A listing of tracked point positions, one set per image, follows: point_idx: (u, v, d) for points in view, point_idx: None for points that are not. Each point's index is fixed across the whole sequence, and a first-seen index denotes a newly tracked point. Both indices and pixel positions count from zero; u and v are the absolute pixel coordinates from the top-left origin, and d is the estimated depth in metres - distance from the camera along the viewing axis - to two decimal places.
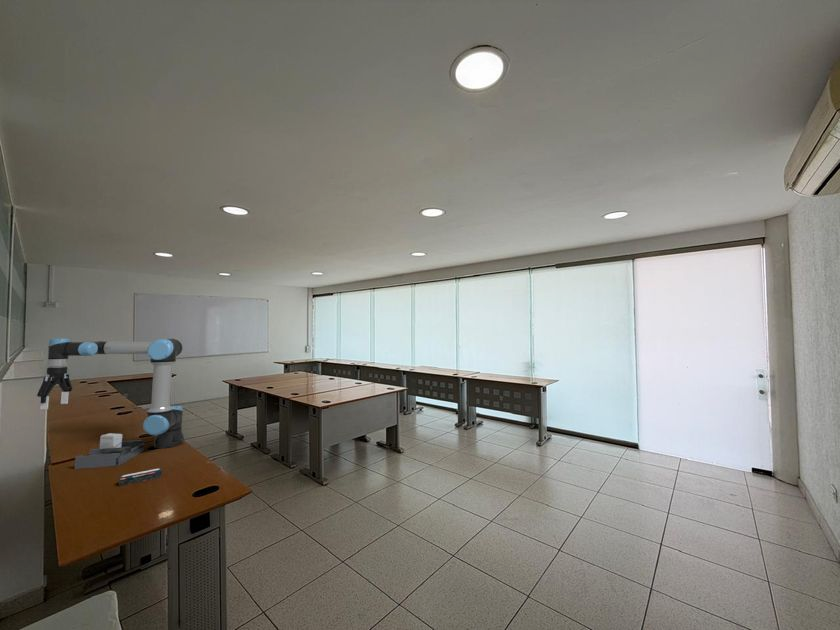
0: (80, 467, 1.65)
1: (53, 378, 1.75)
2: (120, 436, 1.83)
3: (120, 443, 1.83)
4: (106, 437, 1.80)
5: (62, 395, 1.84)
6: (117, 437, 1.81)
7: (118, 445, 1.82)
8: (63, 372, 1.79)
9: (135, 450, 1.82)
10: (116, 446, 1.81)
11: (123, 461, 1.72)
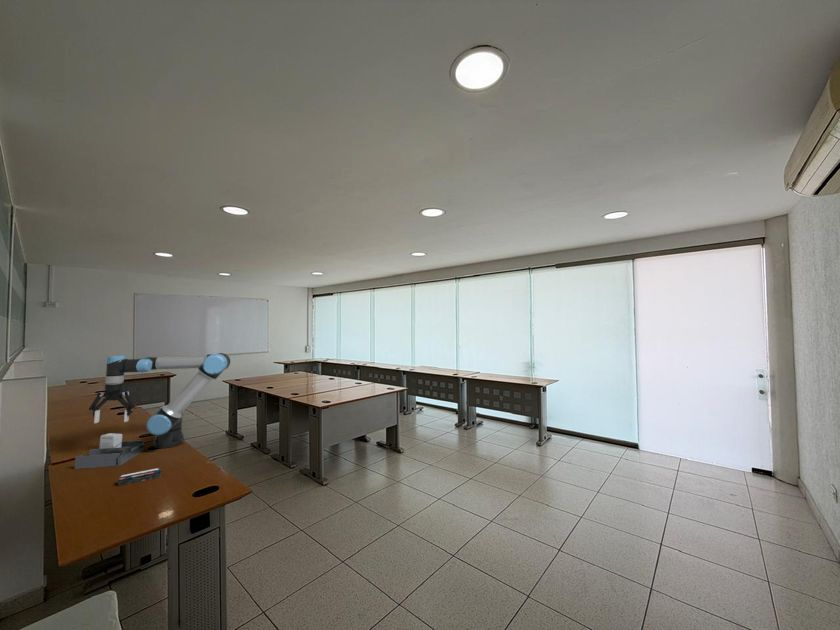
0: (80, 467, 1.65)
1: (104, 394, 1.82)
2: (120, 436, 1.83)
3: (120, 443, 1.83)
4: (106, 437, 1.80)
5: None
6: (117, 437, 1.81)
7: (118, 445, 1.82)
8: (107, 389, 1.80)
9: (135, 450, 1.82)
10: (116, 446, 1.81)
11: (123, 461, 1.72)
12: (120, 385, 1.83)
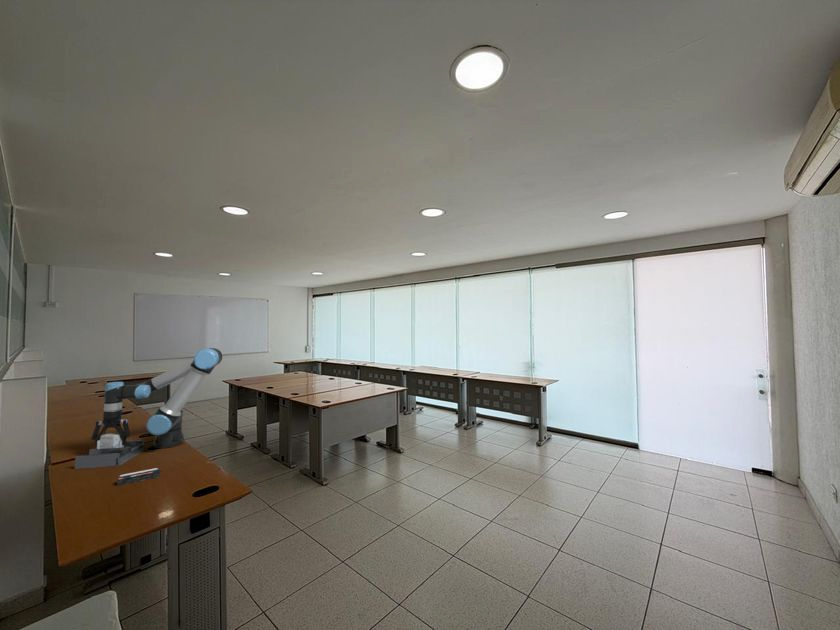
0: (80, 467, 1.65)
1: (103, 421, 1.81)
2: None
3: None
4: (106, 437, 1.80)
5: None
6: (117, 437, 1.81)
7: (118, 445, 1.82)
8: (105, 417, 1.79)
9: (135, 450, 1.82)
10: (116, 446, 1.81)
11: (123, 461, 1.72)
12: (119, 412, 1.83)
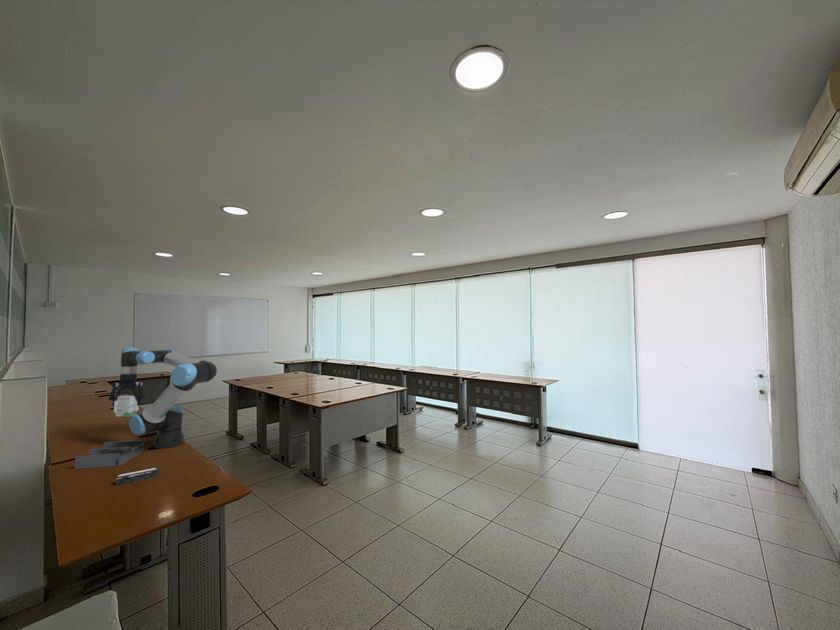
0: (80, 467, 1.65)
1: (119, 383, 1.94)
2: (135, 397, 1.97)
3: None
4: (123, 397, 1.94)
5: None
6: (132, 398, 1.95)
7: (134, 405, 1.96)
8: (122, 379, 1.93)
9: (135, 450, 1.82)
10: (132, 406, 1.94)
11: (123, 461, 1.72)
12: (134, 375, 1.96)
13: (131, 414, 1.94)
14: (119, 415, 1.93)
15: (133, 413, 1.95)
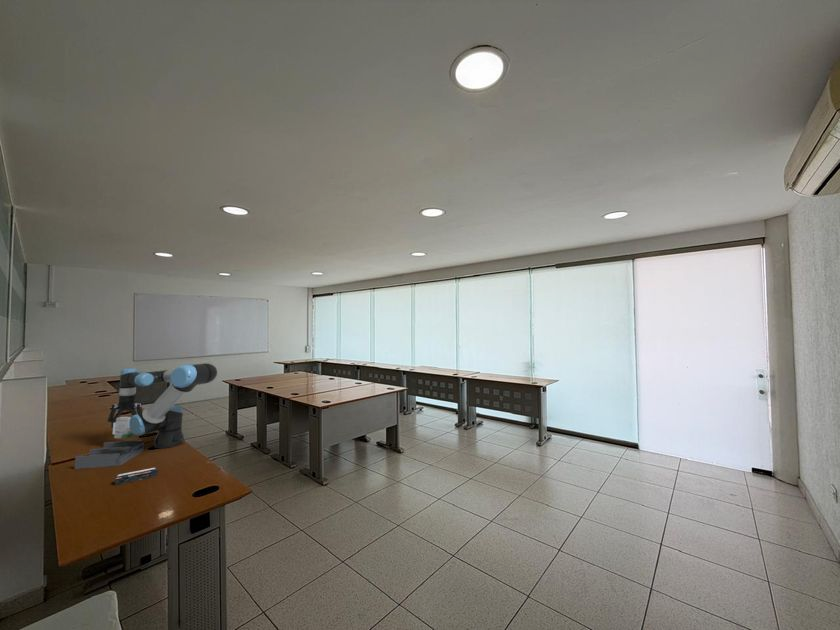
0: (80, 467, 1.65)
1: (118, 405, 1.94)
2: None
3: None
4: (122, 419, 1.93)
5: None
6: None
7: None
8: (121, 401, 1.92)
9: (135, 450, 1.82)
10: None
11: (123, 461, 1.72)
12: (133, 396, 1.96)
13: (130, 436, 1.94)
14: (118, 437, 1.92)
15: (132, 435, 1.95)
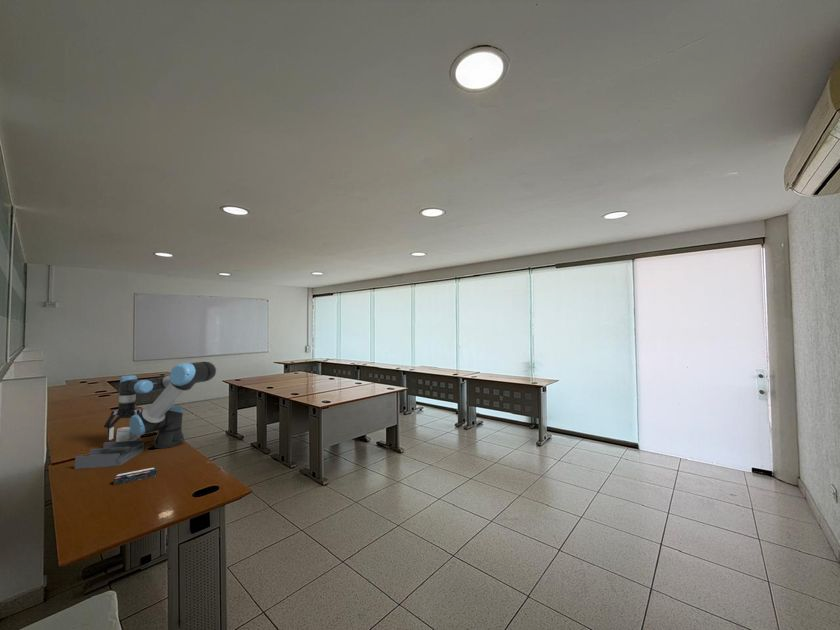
0: (80, 467, 1.65)
1: (118, 412, 1.94)
2: None
3: (135, 436, 1.96)
4: (122, 430, 1.93)
5: None
6: None
7: (133, 437, 1.95)
8: (120, 408, 1.92)
9: (135, 450, 1.82)
10: (131, 438, 1.94)
11: (123, 461, 1.72)
12: (132, 403, 1.95)
13: None
14: None
15: None
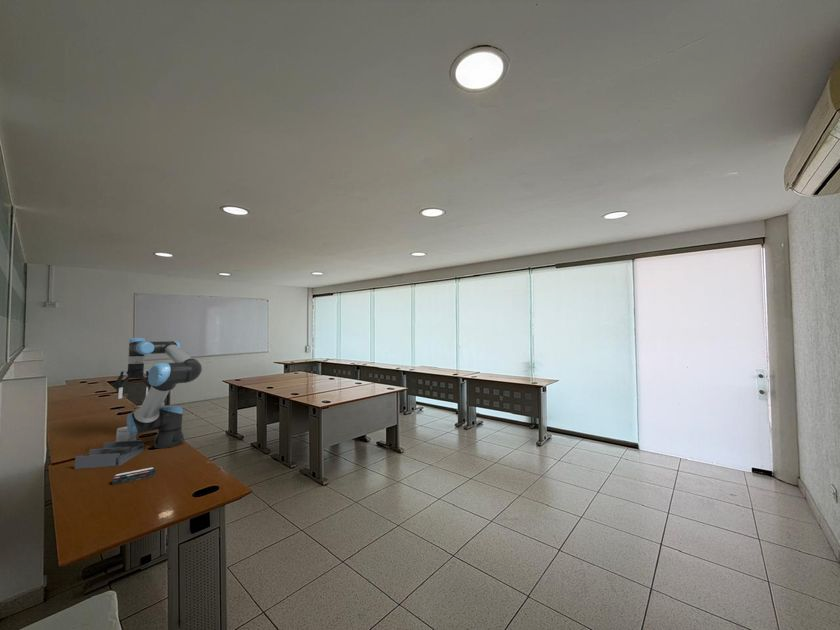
0: (80, 467, 1.65)
1: (127, 373, 2.00)
2: None
3: (135, 436, 1.96)
4: (122, 430, 1.93)
5: None
6: None
7: (133, 438, 1.95)
8: (130, 368, 1.99)
9: (135, 450, 1.82)
10: (131, 438, 1.94)
11: (123, 461, 1.72)
12: (141, 364, 2.03)
13: None
14: None
15: None
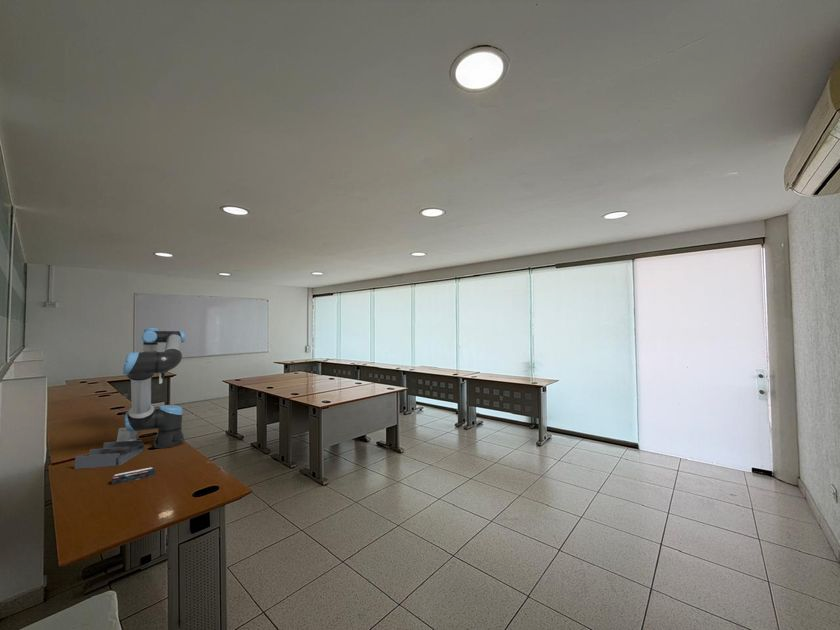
0: (80, 467, 1.65)
1: None
2: None
3: (135, 436, 1.97)
4: (124, 429, 1.94)
5: None
6: None
7: (134, 437, 1.95)
8: None
9: (135, 450, 1.82)
10: (132, 438, 1.94)
11: (123, 461, 1.72)
12: None
13: None
14: None
15: None
